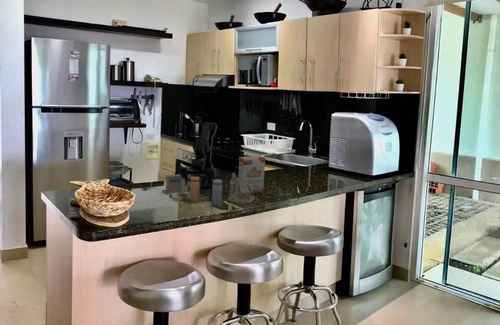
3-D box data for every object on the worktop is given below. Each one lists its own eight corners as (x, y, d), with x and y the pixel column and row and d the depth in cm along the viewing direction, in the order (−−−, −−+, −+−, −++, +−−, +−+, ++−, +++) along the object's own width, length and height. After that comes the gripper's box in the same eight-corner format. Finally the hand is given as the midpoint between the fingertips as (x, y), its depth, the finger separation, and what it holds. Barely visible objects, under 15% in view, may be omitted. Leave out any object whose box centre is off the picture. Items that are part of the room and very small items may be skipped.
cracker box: (242, 195, 254) (243, 158, 250) (237, 192, 259) (238, 156, 256) (264, 193, 260) (265, 157, 257) (259, 190, 266) (260, 155, 262)
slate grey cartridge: (219, 203, 233) (220, 178, 231) (223, 206, 229) (223, 180, 227) (210, 204, 231) (211, 179, 229) (214, 206, 227) (214, 181, 225)
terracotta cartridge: (197, 199, 239) (197, 175, 237) (200, 202, 235) (201, 177, 233) (188, 200, 237) (188, 176, 235) (191, 202, 233) (192, 178, 231)
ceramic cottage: (235, 204, 232) (237, 175, 231) (223, 198, 247) (225, 171, 246) (262, 204, 239) (264, 176, 237) (249, 198, 254) (251, 171, 252)
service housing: (181, 190, 260) (181, 173, 258) (185, 192, 254) (185, 176, 252) (162, 191, 255) (162, 174, 253) (166, 194, 249) (166, 177, 247)
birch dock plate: (190, 194, 251) (190, 191, 251) (196, 198, 241) (197, 195, 241) (169, 195, 246) (169, 193, 245) (175, 200, 236) (175, 197, 236)
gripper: (180, 151, 238) (174, 176, 229) (215, 153, 237) (210, 178, 228) (183, 164, 247) (178, 188, 238) (217, 166, 246) (213, 190, 237)
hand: (194, 186), depth 235 cm, fingers open, 9 cm apart
